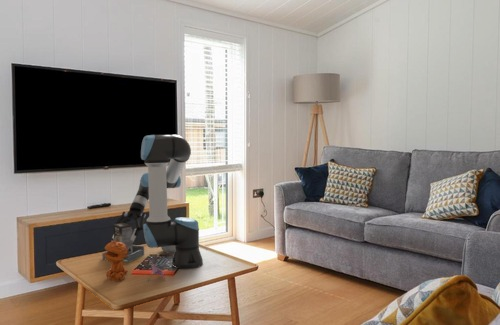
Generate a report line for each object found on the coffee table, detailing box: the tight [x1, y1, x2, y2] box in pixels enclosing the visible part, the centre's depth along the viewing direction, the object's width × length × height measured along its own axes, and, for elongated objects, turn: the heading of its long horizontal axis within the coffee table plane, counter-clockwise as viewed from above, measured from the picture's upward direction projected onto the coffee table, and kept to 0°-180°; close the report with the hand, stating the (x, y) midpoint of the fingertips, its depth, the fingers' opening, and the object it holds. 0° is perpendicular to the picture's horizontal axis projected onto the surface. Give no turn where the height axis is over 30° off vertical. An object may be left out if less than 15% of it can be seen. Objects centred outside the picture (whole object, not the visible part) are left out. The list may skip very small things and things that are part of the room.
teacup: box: [160, 245, 175, 254], centre depth 244 cm, size 14×11×8 cm
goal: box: [101, 244, 145, 263], centre depth 232 cm, size 16×14×5 cm
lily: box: [147, 258, 166, 283], centre depth 196 cm, size 12×12×10 cm
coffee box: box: [113, 223, 134, 255], centre depth 231 cm, size 9×6×16 cm
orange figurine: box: [102, 240, 129, 282], centre depth 198 cm, size 11×11×18 cm
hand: (122, 239), depth 231 cm, fingers closed on coffee box, 10 cm apart
